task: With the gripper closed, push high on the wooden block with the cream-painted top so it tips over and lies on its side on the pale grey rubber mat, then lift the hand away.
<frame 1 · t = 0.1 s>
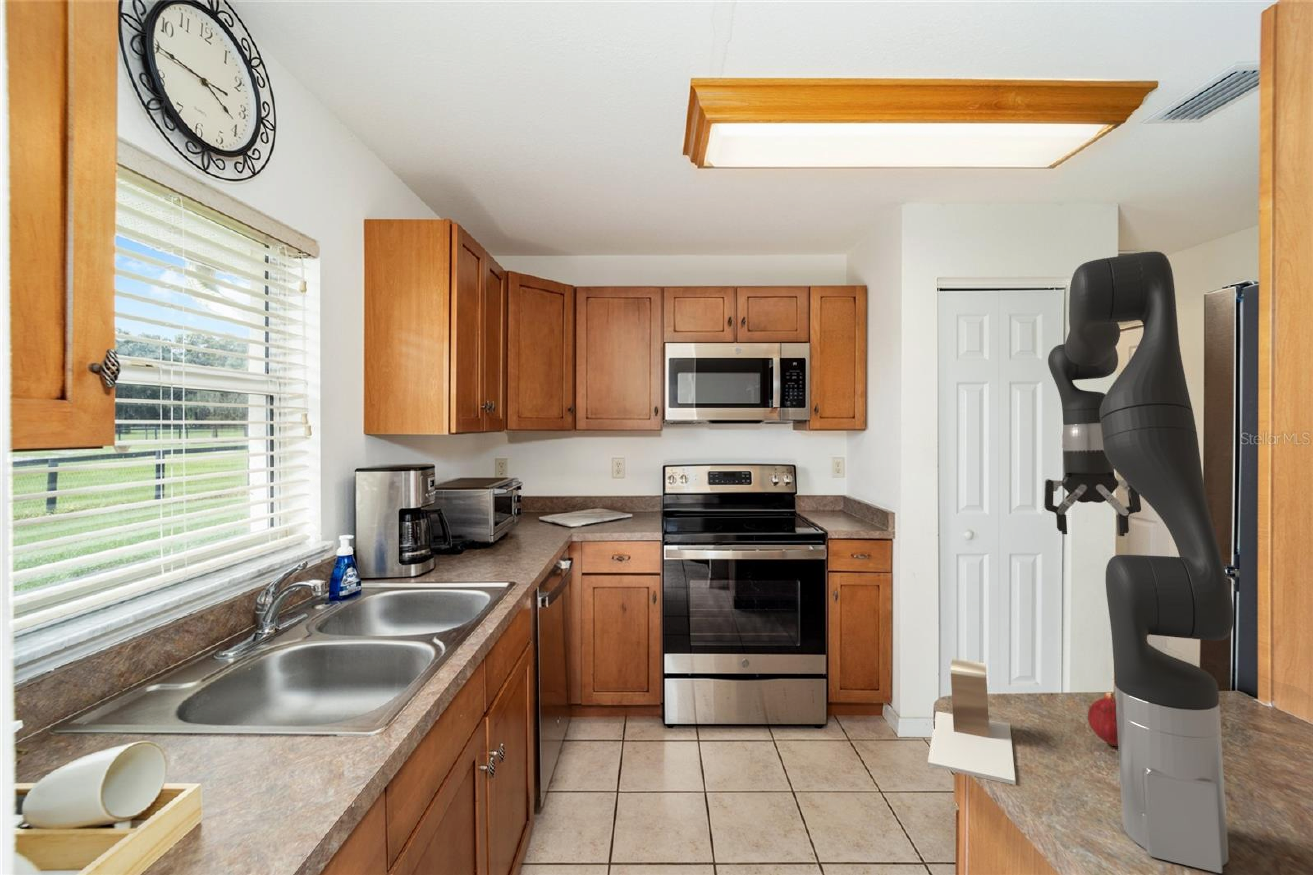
hand: (1092, 534, 107), 29 cm above the countertop, fingers open, 8 cm apart
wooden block: (971, 727, 94), point 1 cm above the countertop, touching mat
onion: (1112, 747, 88), on the countertop
mat: (971, 745, 90), on the countertop
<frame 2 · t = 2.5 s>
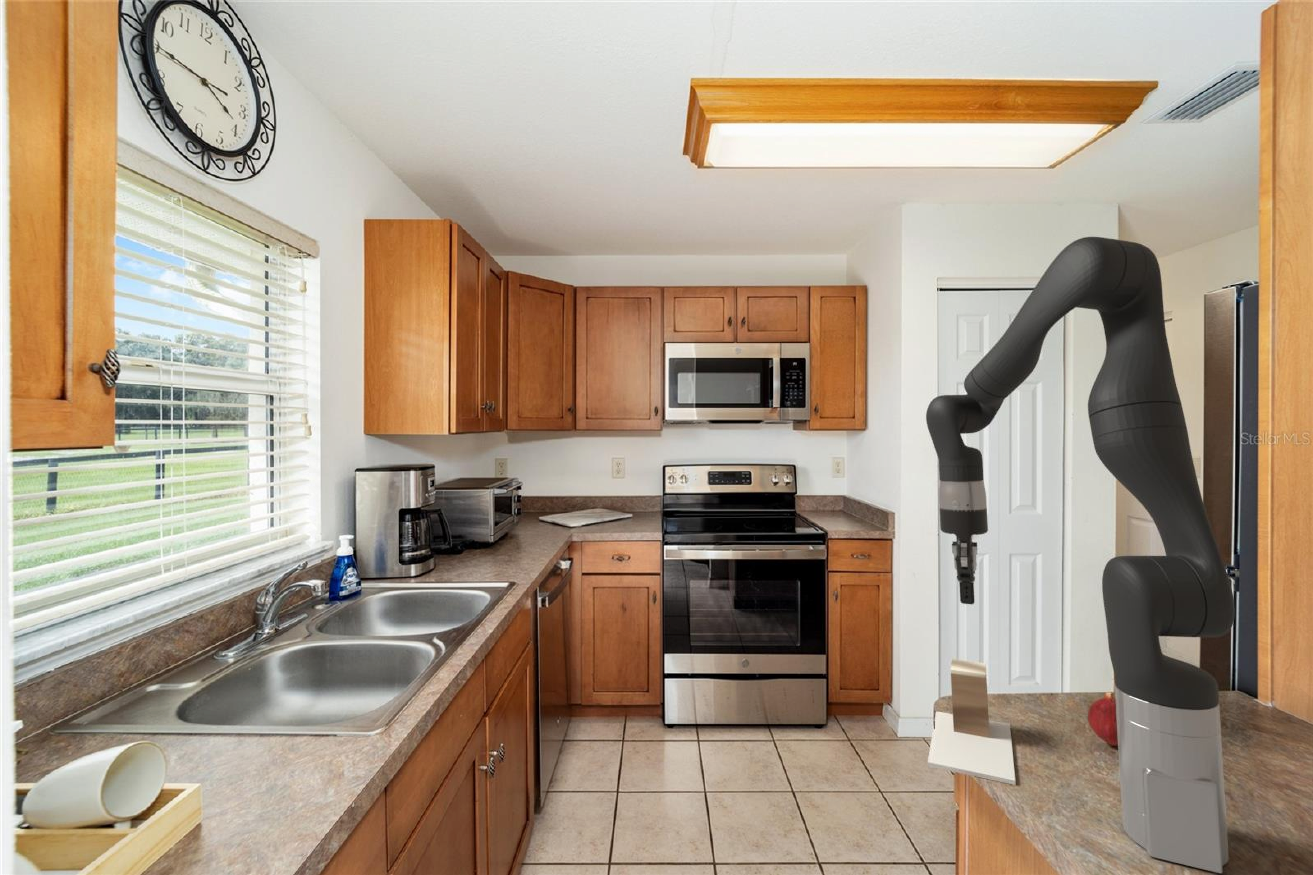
hand: (967, 602, 102), 19 cm above the countertop, fingers closed
nothing on the countertop moved.
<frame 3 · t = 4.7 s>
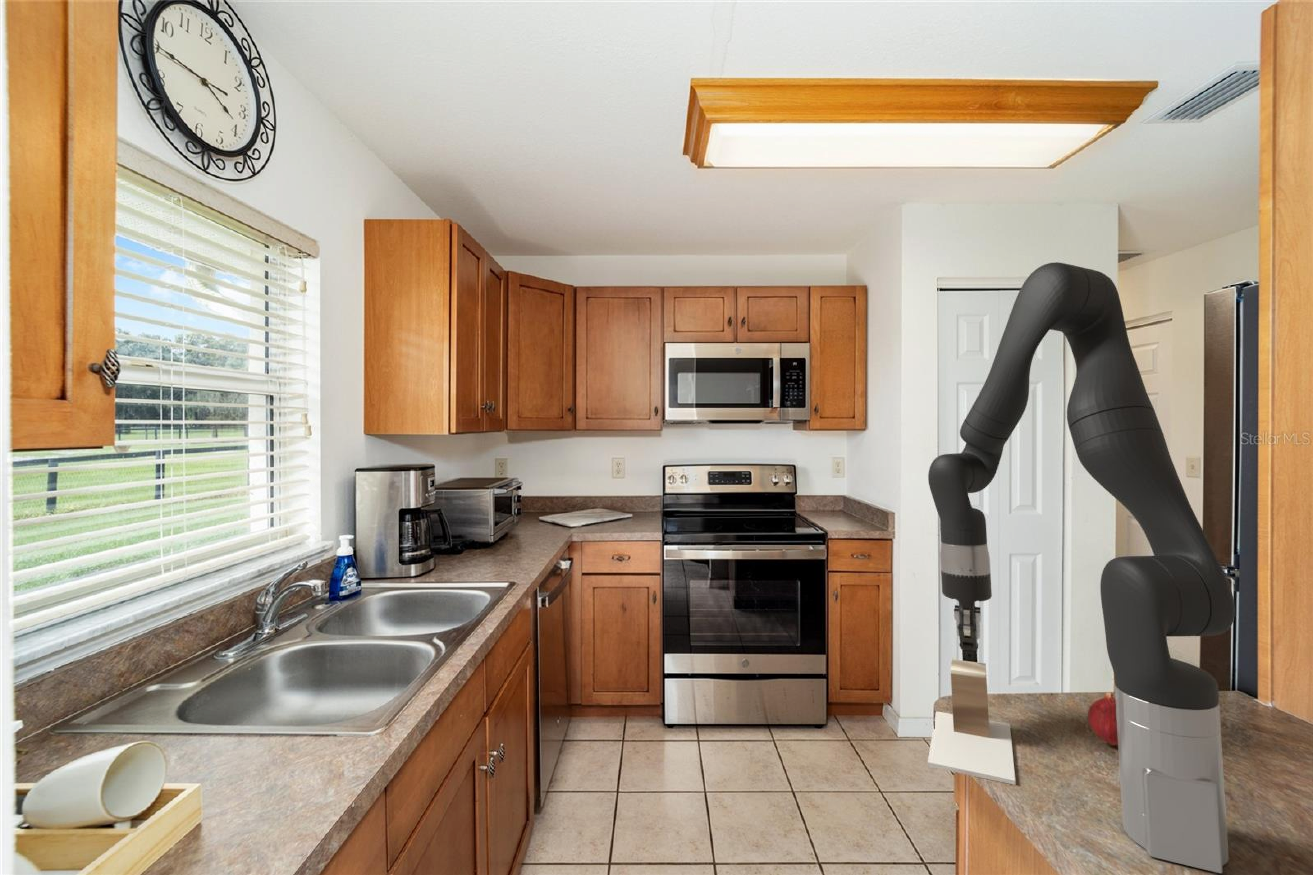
hand: (970, 670, 98), 8 cm above the countertop, fingers closed
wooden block: (971, 727, 94), point 1 cm above the countertop, touching gripper, mat
everything else where it was.
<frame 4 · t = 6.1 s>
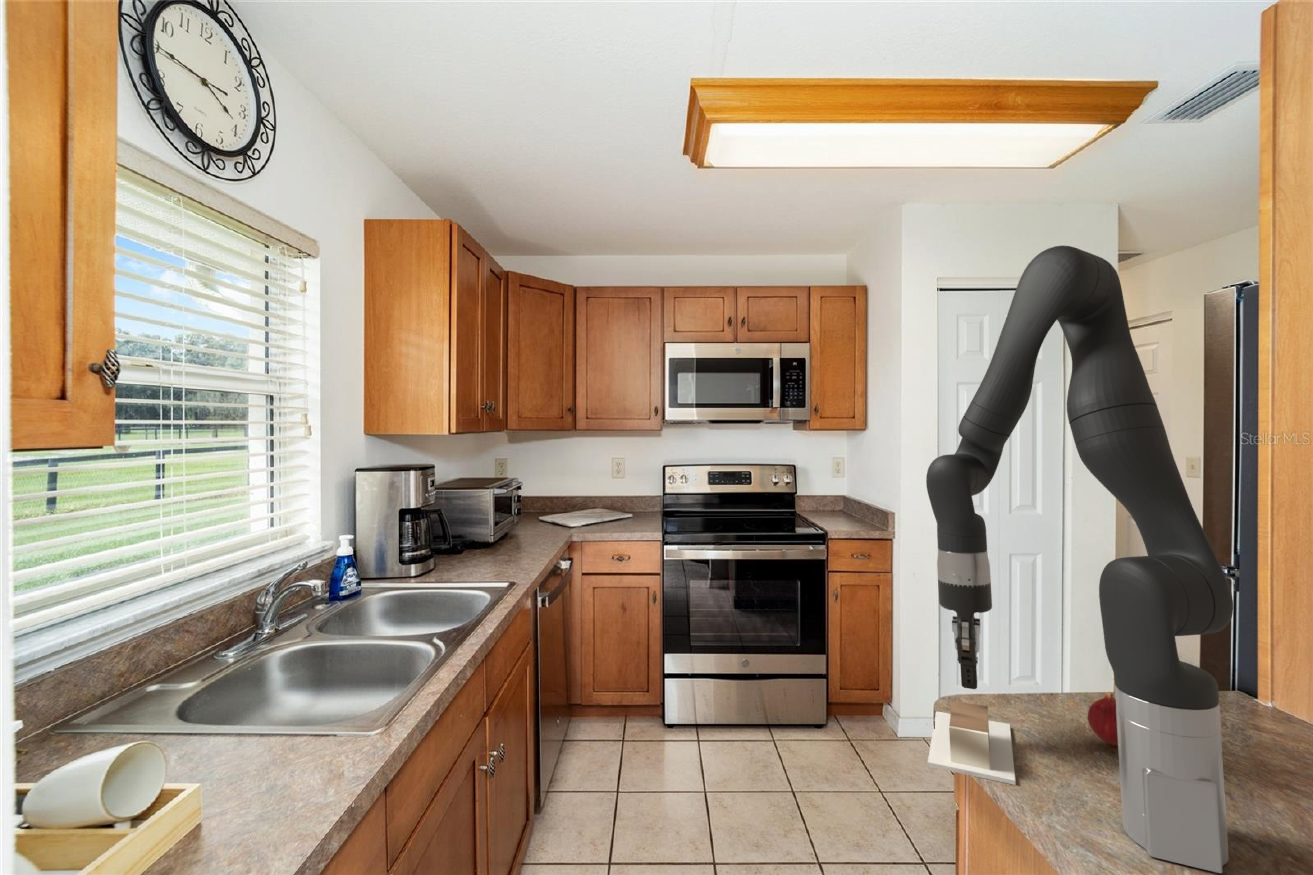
hand: (969, 686, 92), 8 cm above the countertop, fingers closed
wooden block: (970, 719, 92), point 3 cm above the countertop, tilted 90°, touching mat
everything else where it was.
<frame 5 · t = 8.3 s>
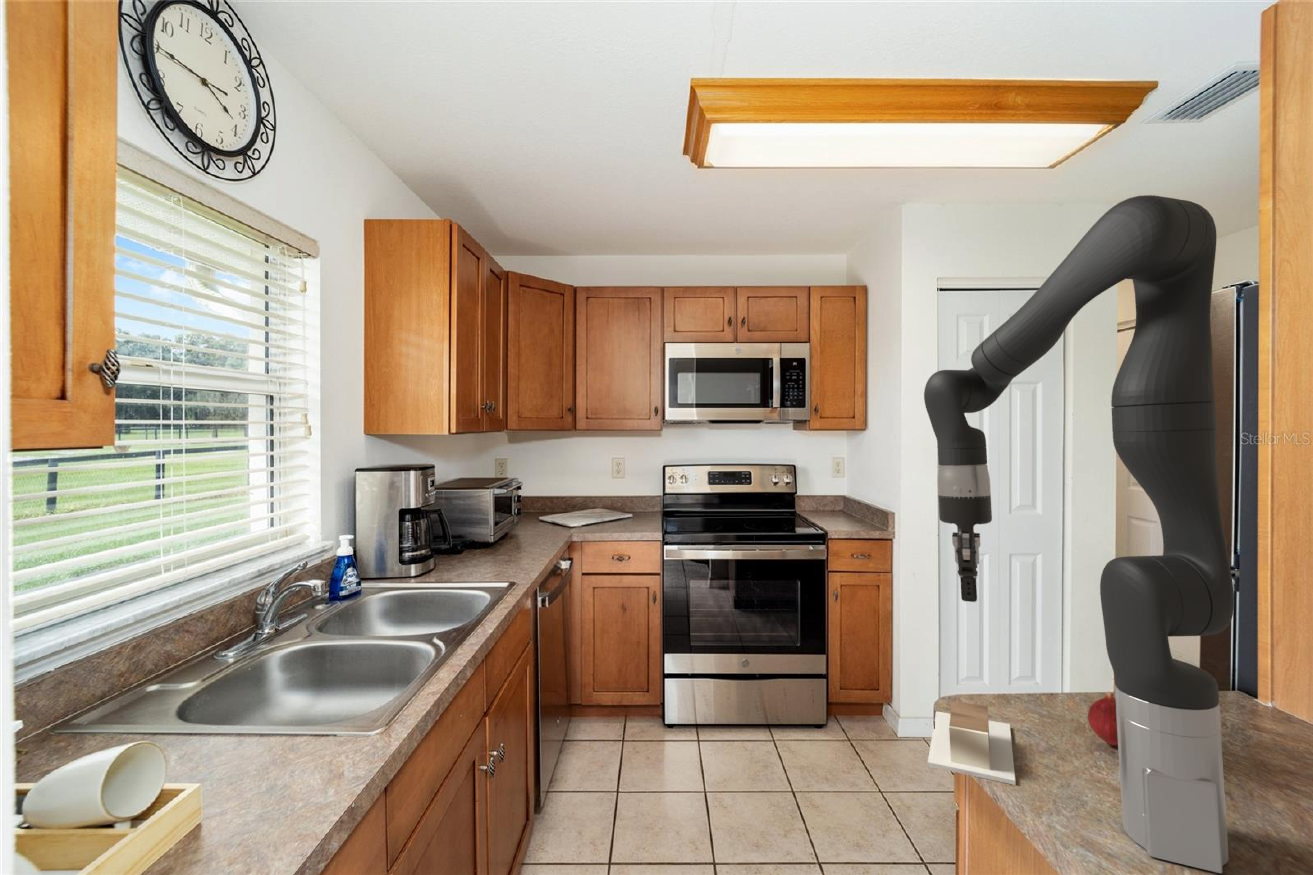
hand: (969, 600, 92), 22 cm above the countertop, fingers closed
nothing on the countertop moved.
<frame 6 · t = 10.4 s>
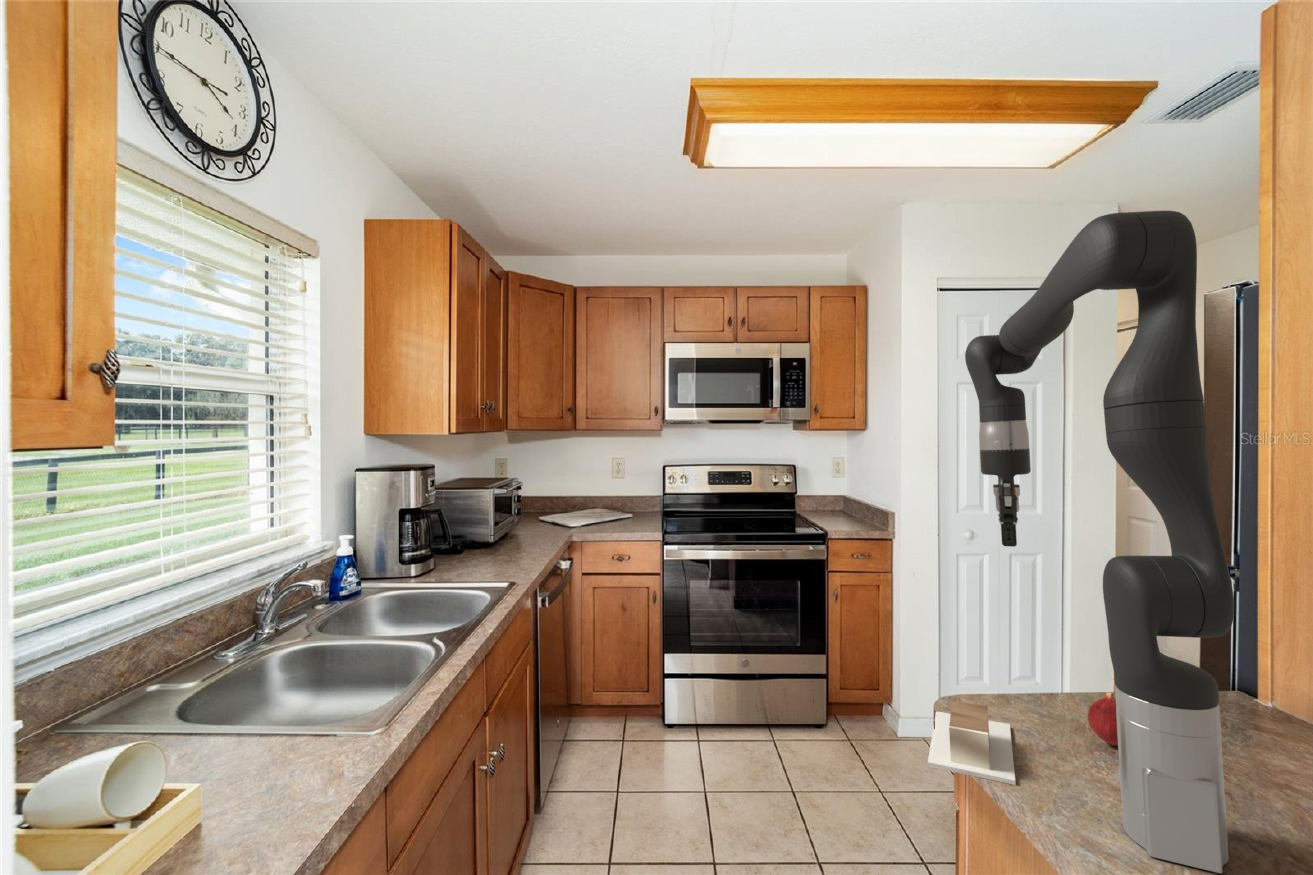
hand: (1009, 545, 101), 29 cm above the countertop, fingers closed
nothing on the countertop moved.
at the end: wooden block tilted 90°; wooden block inside the target area on the mat (0.0 cm from its centre), point 3.1 cm above the mat's base; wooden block touching mat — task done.
